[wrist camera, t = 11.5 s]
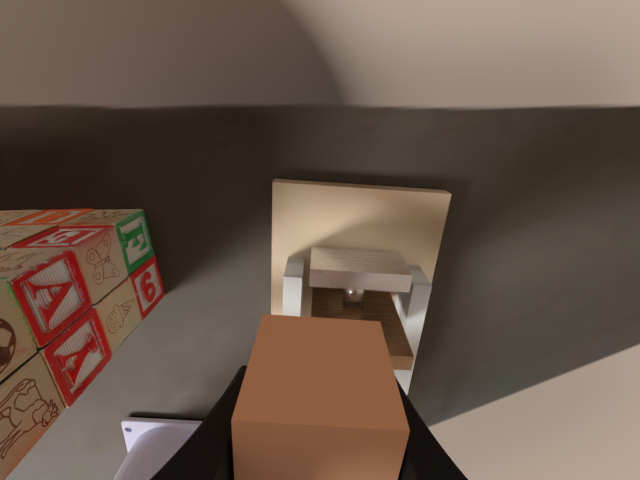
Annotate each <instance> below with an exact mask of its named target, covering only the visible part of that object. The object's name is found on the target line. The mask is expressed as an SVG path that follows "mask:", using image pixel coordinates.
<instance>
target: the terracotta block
mask: <svg viewBox="0 0 640 480" xmlns="http://www.w3.org/2000/svg"><path fill="white" fill-rule="evenodd" d="M231 427H232V446H233V465H234V480H398V477H399V473H400V469H401V465H402V461H403V457H404V453H405V449H406V445H407V440H408V436H409V432H410V429H409V426H408V422H407V418H406V414H405V411H404V407H403V403H402V400H401V396H400V392H399V389H398V385H397V381H396V378H395V374H394V370H393V367H392V363H391V359H390V356H389V352H388V348H387V345H386V341H385V337H384V334H383V330H382V326H381V323H380V321H365V320H349V319H333V318H317V317H301V316H285V315H270V314H263V316H262V319H261V323H260V326H259V329H258V333H257V336H256V339H255V343H254V346H253V349H252V353H251V356H250V359H249V363H248V366H247V369H246V373H245V376H244V379H243V383H242V386H241V389H240V393H239V396H238V399H237V403H236V406H235V409H234V413H233V416H232V419H231Z"/></svg>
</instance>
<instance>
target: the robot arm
mask: <svg viewBox="0 0 640 480" xmlns="http://www.w3.org/2000/svg"><path fill="white" fill-rule="evenodd" d="M246 369H247V366H244V365H243V366H242V367H240V369H239V371H238V372H237V374H236V376H235V377H234V379H233V380H232V382H231V383H230V385H229V386H228V388H227V389H226V391H225V392H224V394H223V395H222V397H221V398H220V399H219V401H218V402H217V403H216V405H215V406H214V407H213V409H212V410H211V411H210V413H209V414H208V415H207V417H206V418H205V419H204V420H203V421H191V420H173V419H155V418H137V417H126V418H125V419H124V420H123V421H122V423H121V425H122V429H123V433H124V437H125V442H126V446H127V450H128V454H127V456H126V458H125V460H124V461H123V463H122V465H121V467H120V468H119V470H118V472H117V474H116V475H115V477H114V479H113V480H234V465H233V446H232V427H231V419H232V416H233V413H234V409H235V406H236V403H237V399H238V396H239V393H240V389H241V386H242V383H243V379H244V376H245V373H246ZM395 378H396V376H395ZM396 381H397V385H398V389H399V392H400V396H401V400H402V403H403V407H404V411H405V414H406V418H407V422H408V426H409V429H410V432H409V436H408V440H407V445H406V449H405V453H404V457H403V461H402V465H401V469H400V473H399V477H398V480H468V479H467V478H466V477H465V476H464V474H462V472H461V471H460V470H459V469H458V467H457V466H456V465H455V464H454V462H453V461H452V460H451V458H450V457H449V456H448V455H447V453H446V452H445V451H444V449H443V448H442V447H441V445H440V444H439V443H438V441H437V440H436V439H435V437H434V436H433V435H432V433H431V432H430V430H429V429H428V427H427V426H426V424H425V423H424V421H423V420H422V419H421V417H420V416H419V414H418V413H417V411H416V410H415V408H414V406H413V405H412V403H411V402H410V400H409V398H408V397H407V395H406V393H405V392H404V390H403V388H402V387H401V385H400V383H399V382H398V380H397V378H396Z"/></svg>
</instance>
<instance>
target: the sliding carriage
mask: <svg viewBox="0 0 640 480" xmlns="http://www.w3.org/2000/svg"><path fill="white" fill-rule="evenodd" d="M412 277H413V275H412V273H411V271H410V270H409V268H408V266H407V264H406V262H405V260H404V259H403V257H402V255H401V253H398V252H382V251H366V250H351V249H335V248H320V247H312V251H311V263H310V278H309V286H312V287H313V290H312V306H311V317H317V318H333V319H349V320H365V321H380V323H381V326H382V330H383V334H384V337H385V341H386V345H387V348H388V352H389V356H390V359H391V363H392V367H393V370H410V371H411V369H412V364H413V360H414V355H413V353H412V350H411V347H410V345H409V342H408V339H407V336H406V334H405V331H404V328H403V326H402V323H401V320H400V318H399V315H398V312H397V310H396V307H395V304H394V301H393V299H392V296H391V293H390V292H380V291H393V292H410V287H411V282H412ZM315 287H328V288H315ZM331 288H344V289H331ZM366 290H377V291H366Z"/></svg>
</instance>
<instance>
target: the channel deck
mask: <svg viewBox="0 0 640 480" xmlns="http://www.w3.org/2000/svg"><path fill="white" fill-rule="evenodd" d="M451 195H452V194H451V193H449V192H448V191H446V190H438V189H423V188H408V187H393V186H378V185H363V184H348V183H333V182H319V181H304V180H289V179H274V181H273V182H272V282H271V315H285V316H301V317H311V306H312V290H313V287H312V286H309V278H310V263H311V251H312V247H320V248H335V249H351V250H366V251H382V252H398V253H401V255H402V257H403V259H404V260H405V262H406V264H407V266H408V268H409V270H410V271H411V273H412V275H413V277H412V282H411V287H410V292H393V291H380V292H390V293H391V296H392V299H393V301H394V304H395V307H396V310H397V312H398V315H399V318H400V320H401V323H402V326H403V328H404V331H405V334H406V336H407V339H408V342H409V345H410V347H411V350H412V353H413V355H414V360H413V364H412V369H411V371H410V370H394V374H395V376H396V378H397V380H398V382H399V383H400V385H401V387H402V388H403V390H404V392H405V393H406V395H408V390H409V386H410V381H411V377H412V373H413V368H414V364H415V359H416V355H417V351H418V346H419V342H420V337H421V333H422V329H423V324H424V320H425V315H426V311H427V307H428V302H429V298H430V293H431V289H432V285H431V283H432V279H433V274H434V270H435V266H436V261H437V257H438V252H439V248H440V243H441V239H442V235H443V230H444V226H445V221H446V217H447V212H448V208H449V204H450V199H451ZM315 288H328V287H315ZM331 289H344V288H331ZM366 291H377V290H366Z"/></svg>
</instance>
